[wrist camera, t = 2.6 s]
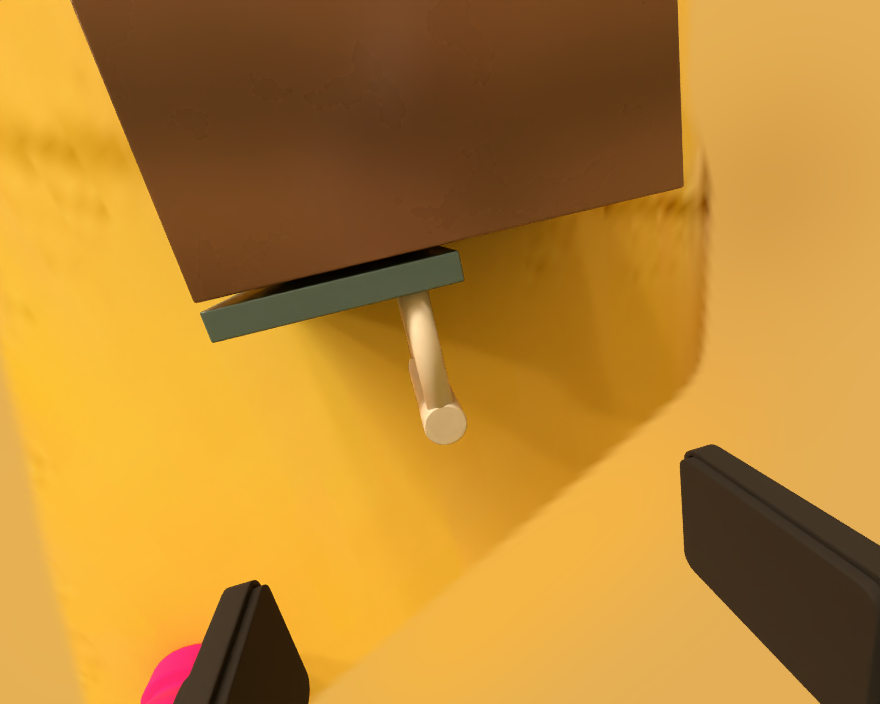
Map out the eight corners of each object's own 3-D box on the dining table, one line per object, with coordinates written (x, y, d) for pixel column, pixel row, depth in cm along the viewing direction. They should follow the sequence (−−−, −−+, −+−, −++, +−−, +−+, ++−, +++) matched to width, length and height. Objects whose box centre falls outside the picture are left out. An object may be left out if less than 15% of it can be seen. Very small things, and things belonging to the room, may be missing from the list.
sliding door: (270, 277, 22) (198, 312, 13) (423, 241, 23) (459, 250, 13) (311, 394, 24) (274, 497, 15) (449, 358, 25) (495, 434, 16)
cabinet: (211, 101, 20) (61, -18, 10) (537, 36, 21) (674, -122, 11) (270, 271, 22) (193, 303, 13) (557, 203, 23) (684, 187, 14)
